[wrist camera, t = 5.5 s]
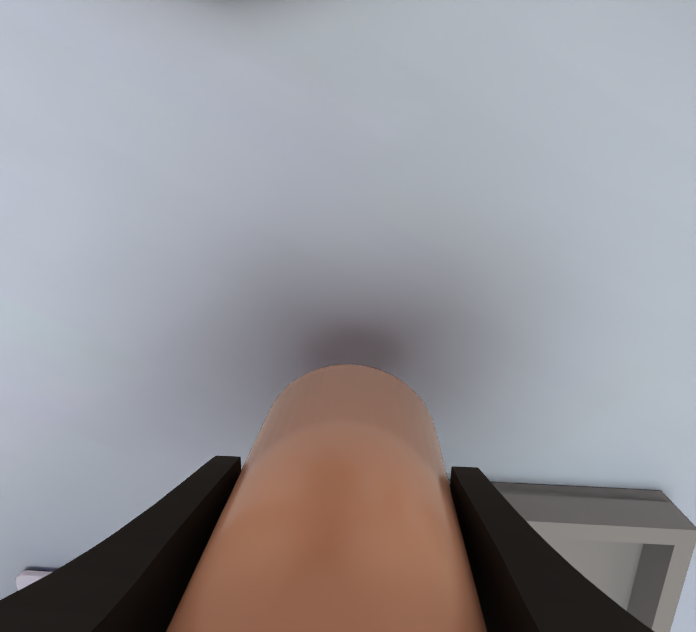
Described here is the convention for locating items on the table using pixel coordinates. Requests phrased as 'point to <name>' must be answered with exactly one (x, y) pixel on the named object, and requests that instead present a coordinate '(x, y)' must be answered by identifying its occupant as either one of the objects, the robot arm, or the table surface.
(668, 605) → the tray
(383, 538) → the cup
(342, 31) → the table surface
